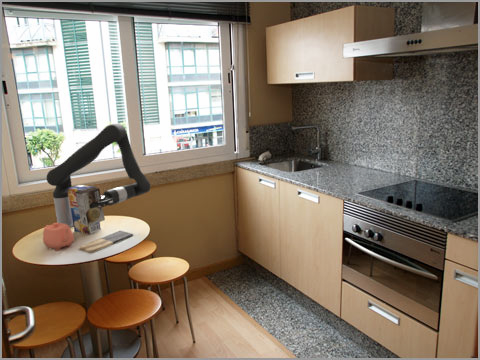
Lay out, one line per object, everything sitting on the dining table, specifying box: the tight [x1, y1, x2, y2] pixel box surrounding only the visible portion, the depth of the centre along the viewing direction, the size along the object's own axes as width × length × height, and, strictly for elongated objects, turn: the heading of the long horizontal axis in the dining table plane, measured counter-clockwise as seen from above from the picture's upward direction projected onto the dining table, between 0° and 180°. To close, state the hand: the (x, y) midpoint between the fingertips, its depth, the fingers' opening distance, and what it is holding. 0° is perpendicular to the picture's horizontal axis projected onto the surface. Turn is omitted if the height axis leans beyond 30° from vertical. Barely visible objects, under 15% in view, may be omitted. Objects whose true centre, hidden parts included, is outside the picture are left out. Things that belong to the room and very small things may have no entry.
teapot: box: [42, 222, 75, 252], centre depth 189 cm, size 20×12×12 cm, turn 56°
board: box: [78, 230, 134, 254], centre depth 193 cm, size 10×24×1 cm, turn 144°
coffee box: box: [75, 186, 105, 226], centre depth 184 cm, size 9×6×16 cm
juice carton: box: [67, 184, 102, 235], centre depth 208 cm, size 12×8×24 cm, turn 62°
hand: (85, 205), depth 181 cm, fingers closed on coffee box, 6 cm apart
